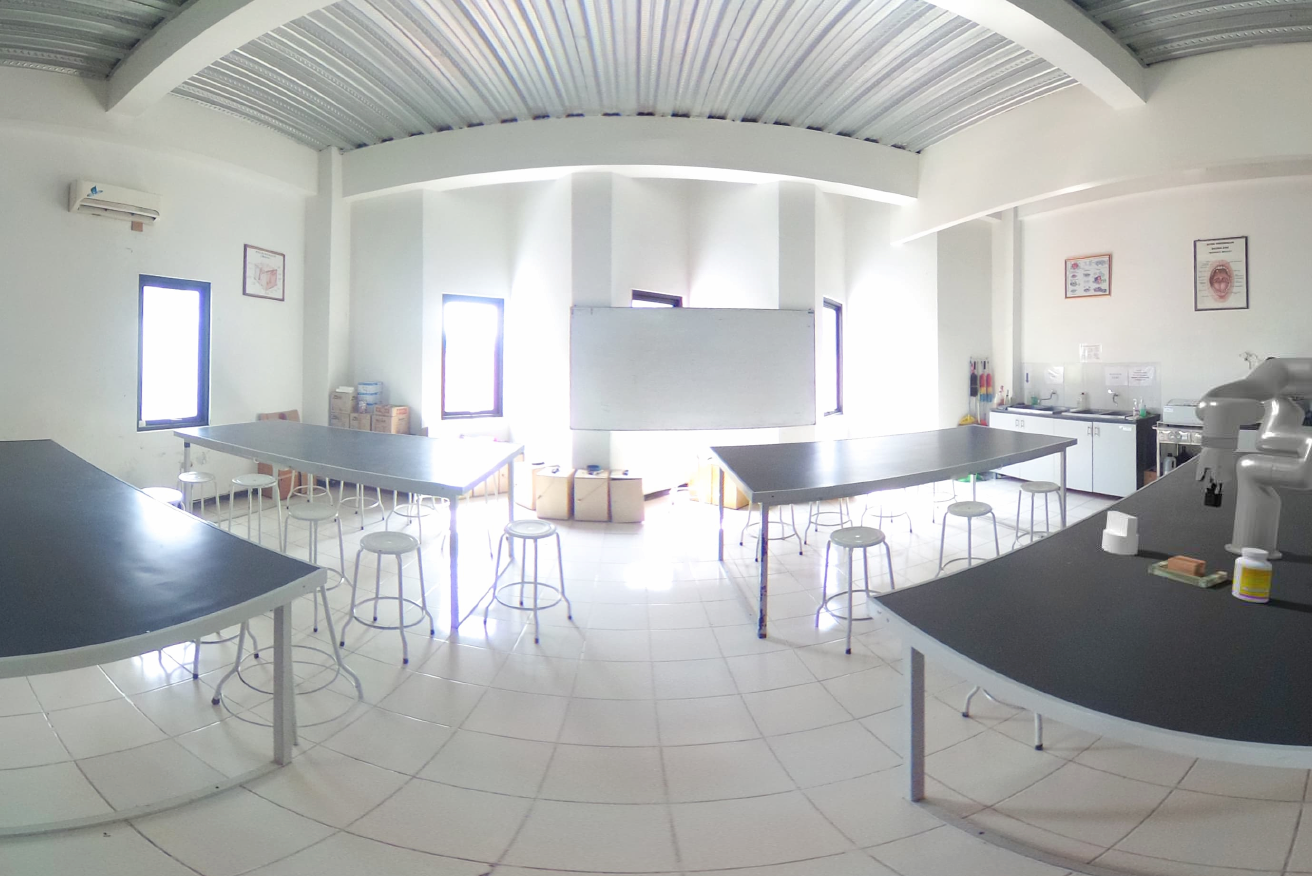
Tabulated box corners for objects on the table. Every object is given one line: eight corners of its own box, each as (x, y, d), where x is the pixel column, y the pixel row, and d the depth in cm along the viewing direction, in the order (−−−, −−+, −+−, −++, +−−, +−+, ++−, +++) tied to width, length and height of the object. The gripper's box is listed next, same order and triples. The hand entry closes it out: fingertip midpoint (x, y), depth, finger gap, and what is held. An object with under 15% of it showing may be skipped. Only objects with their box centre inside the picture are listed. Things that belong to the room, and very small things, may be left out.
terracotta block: (1177, 572, 168) (1179, 555, 168) (1203, 578, 163) (1205, 561, 162) (1166, 575, 166) (1168, 558, 165) (1192, 582, 160) (1194, 565, 160)
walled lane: (1169, 565, 173) (1170, 559, 173) (1226, 579, 161) (1227, 573, 161) (1147, 572, 168) (1148, 565, 167) (1205, 587, 156) (1206, 580, 156)
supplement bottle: (1275, 604, 145) (1282, 555, 143) (1244, 602, 146) (1250, 554, 145) (1254, 594, 151) (1260, 546, 150) (1224, 592, 153) (1229, 545, 151)
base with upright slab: (1144, 555, 183) (1148, 518, 181) (1115, 555, 183) (1119, 518, 181) (1122, 546, 191) (1125, 510, 190) (1094, 546, 192) (1097, 511, 190)
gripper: (1214, 440, 171) (1208, 500, 173) (1189, 443, 164) (1182, 506, 167) (1249, 442, 164) (1241, 505, 167) (1223, 447, 158) (1216, 512, 160)
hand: (1212, 506), depth 167 cm, fingers closed
